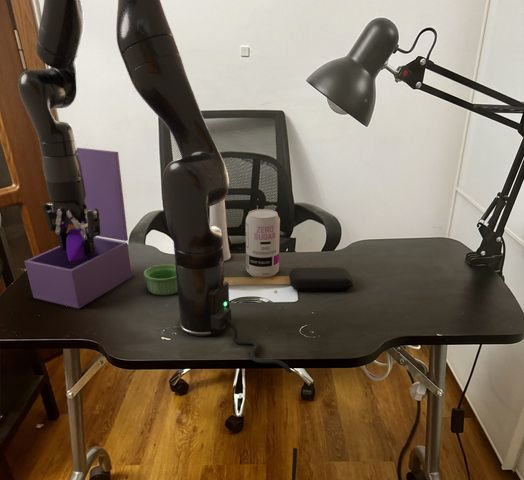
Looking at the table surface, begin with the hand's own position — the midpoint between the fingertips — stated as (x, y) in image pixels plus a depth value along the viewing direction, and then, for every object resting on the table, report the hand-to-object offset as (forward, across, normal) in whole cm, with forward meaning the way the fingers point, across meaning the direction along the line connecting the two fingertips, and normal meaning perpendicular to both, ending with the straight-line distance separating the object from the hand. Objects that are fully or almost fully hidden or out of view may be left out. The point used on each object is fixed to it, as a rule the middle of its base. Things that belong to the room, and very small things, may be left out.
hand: (78, 251), depth 118 cm
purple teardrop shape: (+1, 0, 0) cm, 1 cm away
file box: (+9, 0, 0) cm, 9 cm away
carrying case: (+9, +50, +25) cm, 57 cm away
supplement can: (+9, +35, +26) cm, 44 cm away
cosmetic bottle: (+9, +20, +30) cm, 37 cm away
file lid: (-10, 0, +10) cm, 14 cm away
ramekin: (+9, +18, +7) cm, 21 cm away
